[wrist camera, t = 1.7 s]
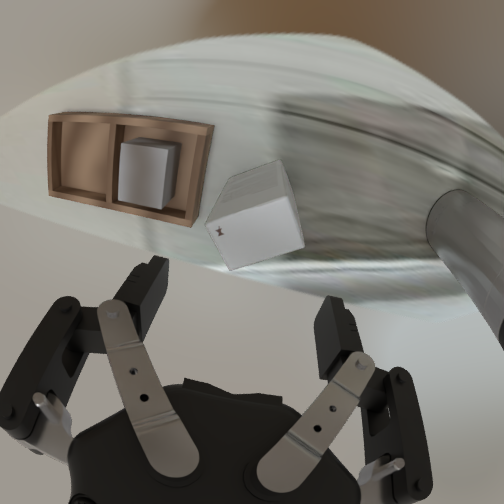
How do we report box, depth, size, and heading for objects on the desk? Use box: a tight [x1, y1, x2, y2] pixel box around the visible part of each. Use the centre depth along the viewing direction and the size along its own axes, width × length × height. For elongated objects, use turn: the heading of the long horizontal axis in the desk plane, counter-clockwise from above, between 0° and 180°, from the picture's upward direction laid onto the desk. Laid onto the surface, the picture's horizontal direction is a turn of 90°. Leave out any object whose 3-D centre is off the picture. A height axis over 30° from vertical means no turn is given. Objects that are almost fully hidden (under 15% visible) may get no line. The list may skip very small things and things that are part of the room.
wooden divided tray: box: [47, 112, 214, 228], centre depth 26 cm, size 20×11×5 cm, turn 77°
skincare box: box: [205, 160, 305, 271], centre depth 24 cm, size 6×4×12 cm
